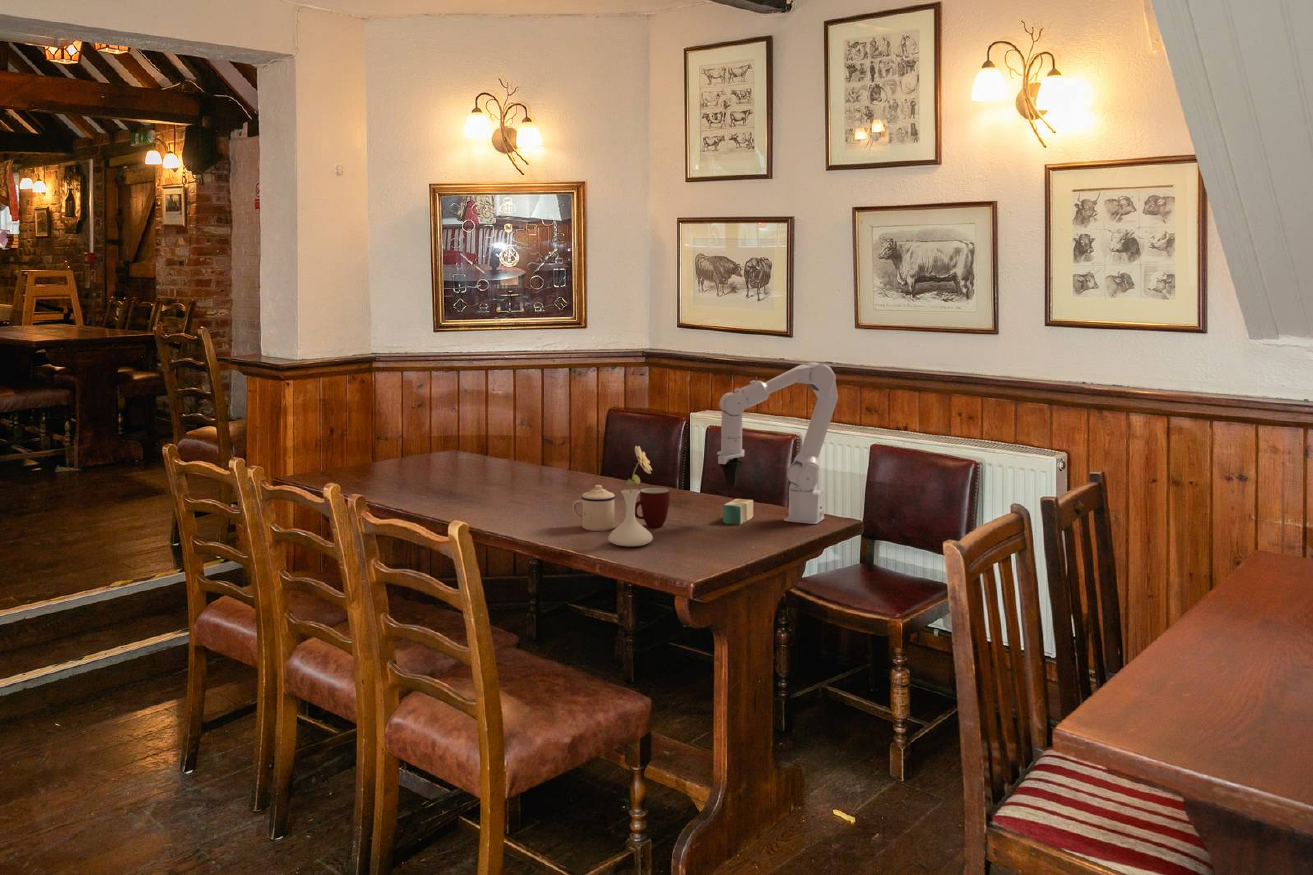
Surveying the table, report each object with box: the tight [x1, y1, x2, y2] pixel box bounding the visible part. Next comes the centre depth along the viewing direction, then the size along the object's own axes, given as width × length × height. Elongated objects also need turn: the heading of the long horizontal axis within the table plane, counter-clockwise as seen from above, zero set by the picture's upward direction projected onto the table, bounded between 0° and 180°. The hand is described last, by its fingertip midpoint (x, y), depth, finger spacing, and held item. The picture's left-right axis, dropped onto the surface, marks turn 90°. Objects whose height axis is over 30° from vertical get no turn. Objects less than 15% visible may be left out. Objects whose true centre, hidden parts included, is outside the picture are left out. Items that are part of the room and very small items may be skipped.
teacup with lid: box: [572, 484, 616, 532], centre depth 296 cm, size 12×9×12 cm
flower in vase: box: [608, 445, 654, 547], centre depth 276 cm, size 13×11×25 cm
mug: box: [635, 487, 671, 529], centre depth 296 cm, size 11×8×10 cm
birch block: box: [722, 498, 754, 525], centre depth 305 cm, size 5×5×10 cm
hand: (731, 486), depth 300 cm, fingers closed
